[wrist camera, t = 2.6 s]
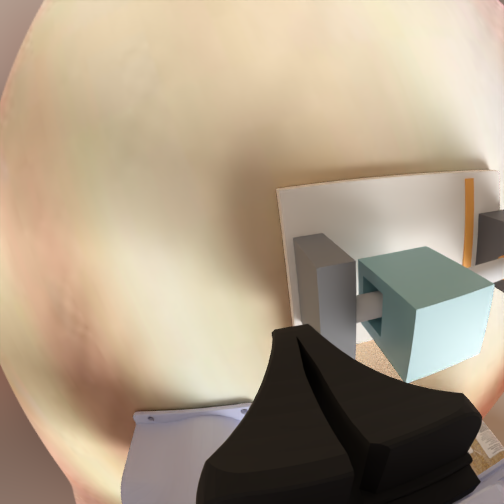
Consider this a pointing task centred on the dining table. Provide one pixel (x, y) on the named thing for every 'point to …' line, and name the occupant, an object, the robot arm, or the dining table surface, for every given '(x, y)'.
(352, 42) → the dining table surface
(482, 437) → the sprinkles bottle
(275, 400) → the robot arm
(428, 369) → the sleeve
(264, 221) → the dining table surface
